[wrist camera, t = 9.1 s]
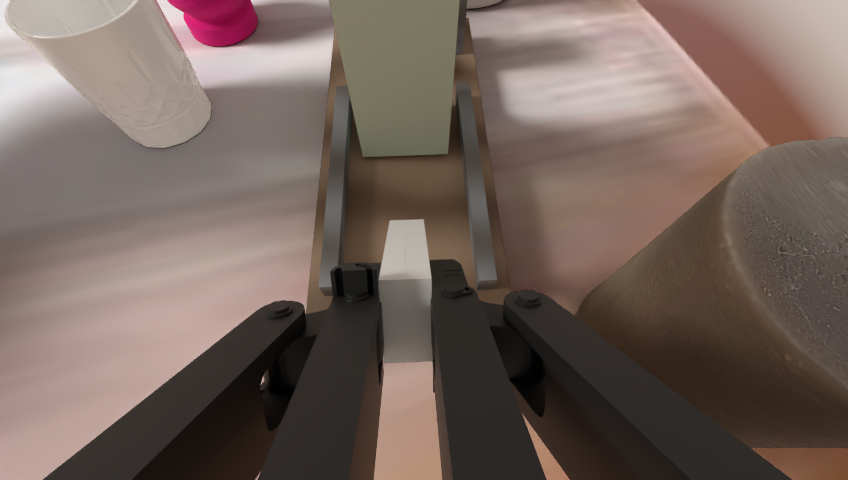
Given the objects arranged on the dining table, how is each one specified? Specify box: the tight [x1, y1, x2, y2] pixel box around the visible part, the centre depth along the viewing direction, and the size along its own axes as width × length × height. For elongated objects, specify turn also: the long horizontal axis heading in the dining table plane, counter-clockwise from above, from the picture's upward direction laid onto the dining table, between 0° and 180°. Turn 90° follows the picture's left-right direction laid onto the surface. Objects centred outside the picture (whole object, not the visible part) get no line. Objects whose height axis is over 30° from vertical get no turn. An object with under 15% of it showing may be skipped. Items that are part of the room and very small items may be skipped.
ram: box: [329, 0, 460, 157], centre depth 23 cm, size 5×7×12 cm
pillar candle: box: [575, 137, 848, 448], centre depth 17 cm, size 10×10×15 cm
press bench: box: [306, 0, 510, 314], centre depth 26 cm, size 28×12×10 cm, turn 3°
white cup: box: [5, 0, 212, 148], centre depth 28 cm, size 8×8×10 cm
